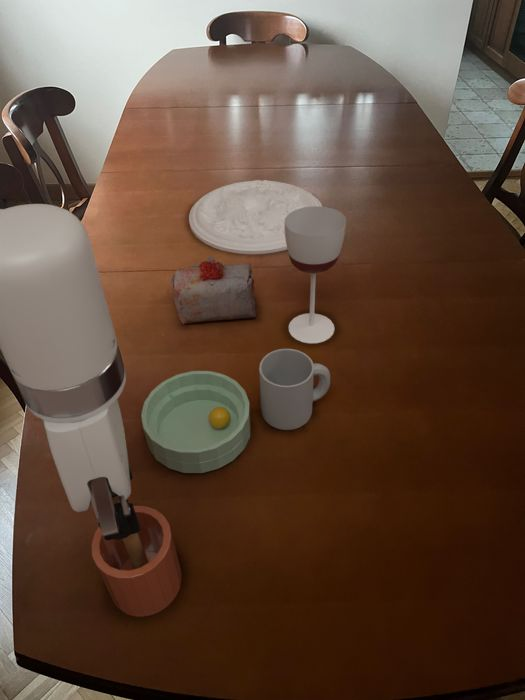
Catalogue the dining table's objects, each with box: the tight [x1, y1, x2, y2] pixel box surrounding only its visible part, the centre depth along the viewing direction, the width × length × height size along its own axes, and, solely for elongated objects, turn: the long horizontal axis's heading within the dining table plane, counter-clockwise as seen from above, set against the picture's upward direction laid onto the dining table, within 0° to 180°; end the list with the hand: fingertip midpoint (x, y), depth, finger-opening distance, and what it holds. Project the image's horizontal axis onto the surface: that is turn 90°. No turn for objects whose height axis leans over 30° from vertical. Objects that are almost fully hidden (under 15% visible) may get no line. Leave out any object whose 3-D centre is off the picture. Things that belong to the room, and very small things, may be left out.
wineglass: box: [285, 206, 347, 344], centre depth 90 cm, size 8×9×20 cm
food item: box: [170, 255, 258, 325], centre depth 97 cm, size 14×8×10 cm, turn 95°
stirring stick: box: [112, 496, 148, 569], centre depth 59 cm, size 2×2×20 cm
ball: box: [208, 407, 230, 429], centre depth 80 cm, size 3×3×3 cm
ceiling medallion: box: [188, 179, 324, 255], centre depth 122 cm, size 28×28×3 cm
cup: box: [258, 348, 331, 431], centre depth 81 cm, size 7×10×9 cm
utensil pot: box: [91, 505, 183, 618], centre depth 63 cm, size 8×8×9 cm
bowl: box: [140, 370, 252, 474], centre depth 80 cm, size 14×14×5 cm
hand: (119, 505), depth 56 cm, fingers open, 5 cm apart
